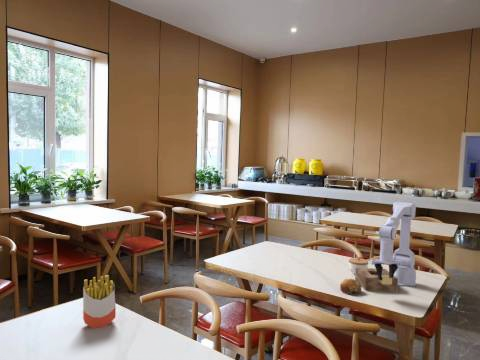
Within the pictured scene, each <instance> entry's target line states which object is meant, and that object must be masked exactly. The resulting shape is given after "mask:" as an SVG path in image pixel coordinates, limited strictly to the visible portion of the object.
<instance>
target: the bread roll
mask: <svg viewBox="0 0 480 360" xmlns="http://www.w3.org/2000/svg"><path fill="white" fill-rule="evenodd" d="M339 289H340V291H341V293H343V294H345V295H352V296H357V295H359V294H360V293H361V292H362V286H361V285H360V284H359V282H358V281H356V280H355V278H354V279H353V278H345V279H344V280H342V281H341V283H340V288H339Z"/></svg>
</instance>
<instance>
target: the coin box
mask: <svg viewBox="0 0 480 360" xmlns="http://www.w3.org/2000/svg"><path fill="white" fill-rule="evenodd" d="M382 275H389V270H388V269H387V268H383V269H382ZM354 277H355V278H354V280H356V281H358V282H359V284H360V285H361V288H363V290H365V291H377V292H378V291H379V292H381V291H382V292H383V291H385V292H398V285H397V284H398V278H397V277H396V275H394V276H393V279H392V284H382V283H380V282H379V279H378V274H377V270H376V268H373V267H372V268H369V267H368V268H356V274H355V275H354Z"/></svg>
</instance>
